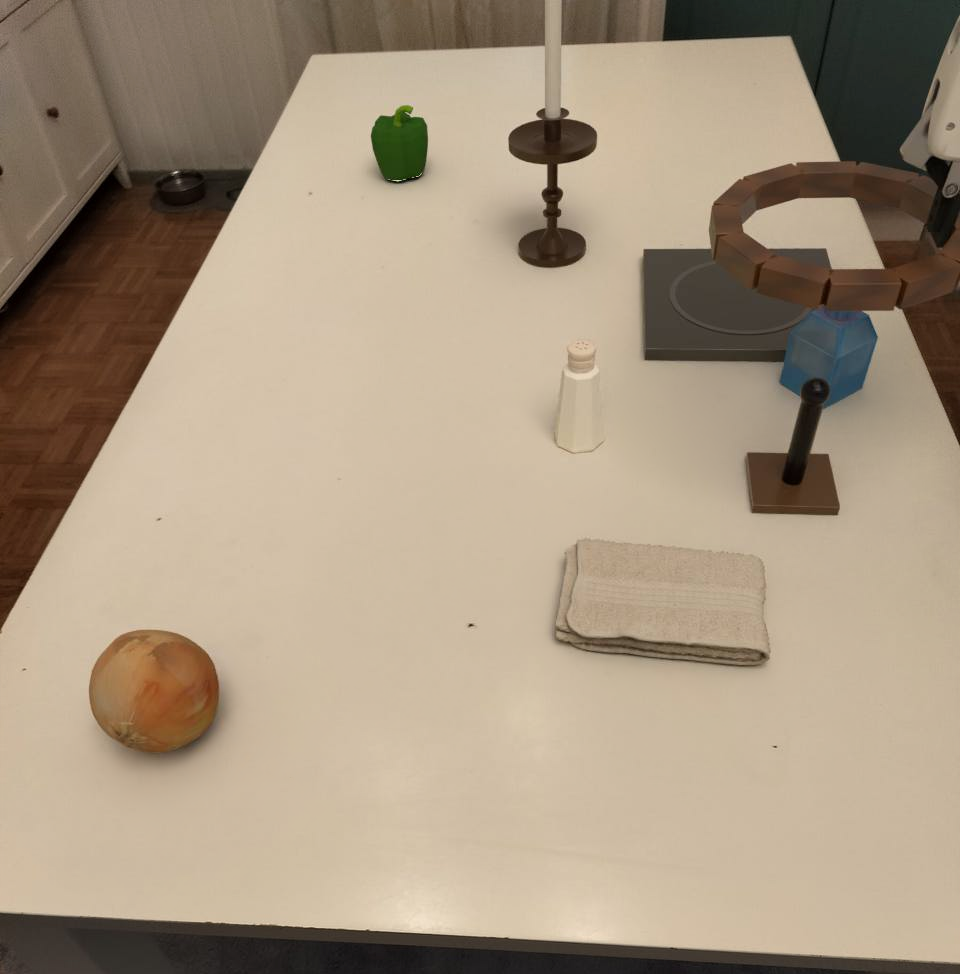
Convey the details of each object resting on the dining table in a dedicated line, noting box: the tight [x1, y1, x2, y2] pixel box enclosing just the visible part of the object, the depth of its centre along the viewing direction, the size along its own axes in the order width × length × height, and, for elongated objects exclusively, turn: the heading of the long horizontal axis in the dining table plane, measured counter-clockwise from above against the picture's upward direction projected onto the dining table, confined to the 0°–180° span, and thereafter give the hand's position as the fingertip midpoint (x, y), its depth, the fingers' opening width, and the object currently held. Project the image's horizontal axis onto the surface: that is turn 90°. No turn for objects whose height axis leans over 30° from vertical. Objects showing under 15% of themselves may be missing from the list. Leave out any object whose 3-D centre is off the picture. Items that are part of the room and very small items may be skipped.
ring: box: [708, 160, 960, 312], centre depth 74 cm, size 21×21×2 cm
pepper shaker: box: [553, 338, 605, 454], centre depth 92 cm, size 5×5×11 cm
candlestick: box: [507, 0, 598, 268], centre depth 109 cm, size 11×11×35 cm
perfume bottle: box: [778, 306, 879, 410], centre depth 96 cm, size 6×6×12 cm
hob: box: [642, 247, 833, 362], centre depth 110 cm, size 23×23×2 cm
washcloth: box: [555, 538, 771, 666], centre depth 80 cm, size 12×18×3 cm, turn 81°
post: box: [745, 377, 841, 516], centre depth 85 cm, size 8×8×12 cm
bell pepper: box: [370, 104, 429, 180], centre depth 136 cm, size 8×8×10 cm
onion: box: [88, 629, 220, 754], centre depth 72 cm, size 10×10×10 cm
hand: (956, 237), depth 74 cm, fingers closed on ring, 2 cm apart
